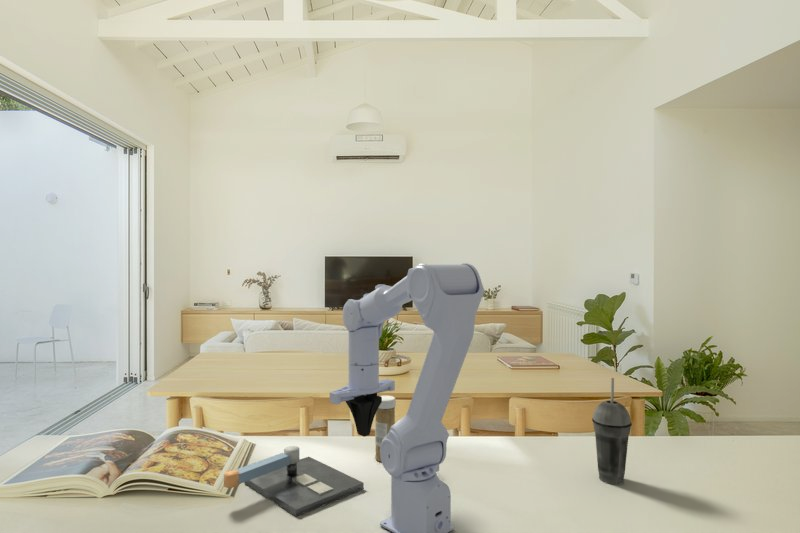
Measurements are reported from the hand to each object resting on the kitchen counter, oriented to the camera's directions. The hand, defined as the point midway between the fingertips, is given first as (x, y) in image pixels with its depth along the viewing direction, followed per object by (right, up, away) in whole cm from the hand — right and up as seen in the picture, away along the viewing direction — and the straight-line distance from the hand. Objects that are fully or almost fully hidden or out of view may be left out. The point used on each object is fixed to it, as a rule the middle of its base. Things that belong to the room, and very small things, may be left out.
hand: (363, 434), depth 98 cm
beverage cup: (+49, -11, +5) cm, 50 cm away
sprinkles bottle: (+4, -10, +15) cm, 19 cm away
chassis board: (-12, -10, +1) cm, 16 cm away
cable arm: (-19, -7, -1) cm, 20 cm away
